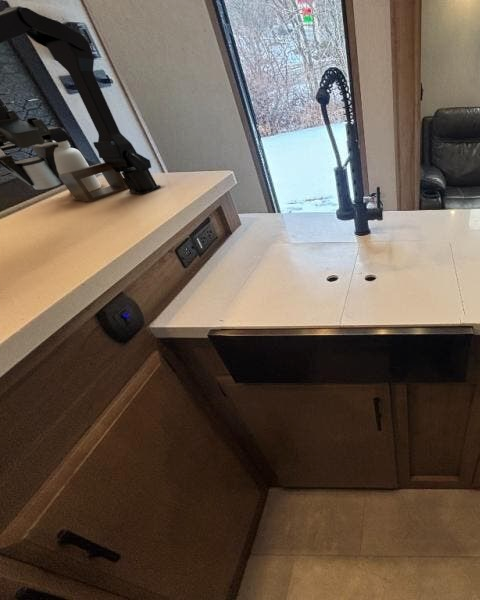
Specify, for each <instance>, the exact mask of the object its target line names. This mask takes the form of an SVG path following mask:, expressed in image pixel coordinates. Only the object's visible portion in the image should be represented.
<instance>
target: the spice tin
mask: <svg viewBox="0 0 480 600" xmlns="http://www.w3.org/2000/svg"><path fill="white" fill-rule="evenodd" d="M14 162H15V163H16V165H17V166H18V167H19V168H20V169H21V170H22V171H23V172H24V173H25V175H26V176H27V177H28V178H29V179H30V180H31V182H32V183H33V185H34V186H32V187H33V189H34V190H38V191H39V190H47V189H51V188H55V187H57V186H59V185H61V181H60V178H57V177H56V175H55V174H54V173H53V171H52V170H51V168H50V167H49V166H48V164H47V163H46V162H45V159H44V158H43V157H38V156H35V157H29V158H23V159H20V160H16V161H14Z"/></svg>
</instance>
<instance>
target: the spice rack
mask: <svg viewBox="0 0 480 600" xmlns="http://www.w3.org/2000/svg"><path fill="white" fill-rule="evenodd" d="M99 174H102V176H103V177H104V179H105V181H106V182H107V183H108V186H105V187H103V188H102V187H101V188H99V189H97V190H94V191H91V192H89V191H88V190H87V188H86V187H85V185H84V184H83V182H82V181H81V179H82V178H85V177H89V176H92V175H95V176H96V175H99ZM58 175H59V179H60V180H61V181H62V183H63V184H64V186H65V187H66V189H67V190H68V191H69V193H70V194H71V196H72V197H73V198H74V200H75V201H83V202H90V203H92V202H95V201H96V200H99V199H101V198H102V199H103V198H104V197H105V198H106V197H107V196H110V195H113V194H116V193H119V192H121V191H125V190H129V188H128V186H127V185H126V183H125V181H124V180H123V178H124V177H123V175H122V172H116V171H115V170H114V169H113V168H112V167H111V166H110V165H108V164H106V163H105V162H104V161H103V162H99V163H95V164H93V165H89V167H85V168H81V169H78V170H74V171H71V172H67V173H64V174H58Z"/></svg>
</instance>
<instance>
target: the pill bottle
mask: <svg viewBox="0 0 480 600" xmlns="http://www.w3.org/2000/svg"><path fill="white" fill-rule="evenodd" d="M52 141H53V140H52ZM53 143H54V144H58V146H59V147H56V148H55V151H54V159H55V164H56V167H57V171H58V175H60V174H64V173H67V172H71V171H74V170H78V169H81V168H85V167H89V166H90V165H89V164H88V162H87V160H86V159H85V157H84V156H83V154H82V152H81V151H80V150H78V149H77V148H74V147H71V144H70V142H69V140H68V141H63V142H59V143H58V142H55V141H53ZM81 181H82V182H83V184H84V185H85V187H86V188H87V190H88V191H89V193H90V192H93V191H96V190H99V189H101V188H102V185H101V183H100V180H98V178H97V176H96V174H95V175H92V176H89V177H85V178H82V179H81Z"/></svg>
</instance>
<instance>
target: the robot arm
mask: <svg viewBox="0 0 480 600" xmlns="http://www.w3.org/2000/svg"><path fill="white" fill-rule="evenodd" d="M24 34H25V35H26V36H27V37H29V38H30V39H31V40H32V41H33V42H35V43H37V44H39V45H41V46H43V47H45V48H47V49H48V50H49V52H50V53H51V55H52V56H53V58H54V60H56V62H57V63H59V64H60V66H62V67H63V68H64V69H65V70H66V72H68V74H69V76H70V78H71V80H72V82H73V84H74V86H75V88H76V90H77V92H78V95H79V97H80V99H81V101H82V103H83V105H84V108H85V110H86V111H87V113H88V115H89V118H90V119H91V122H92V124H93V126H94V128H95V130H96V132H97V135H98V138H97V139H98V140H97V141H93V146H94V149H96V151H97V153H98V158H99V159H102V161H103V163H104V162H105V163H106V164H108V165H110V166H111V167H112V168H113V169H114V170H115V171H116V172H120V173H121V174H122V176H123V180H124V181H125V183H126V185H127V186H128V192H129V193H132V194H141V195H143V194H147V193H148V192H151V191H155V190H156V189H159V188H161V185H160V184H157V182H156V180H155V179H154V177H153V175H152V173H151V172H150V169H152V163H151V160H150V159H149V158H147V157H145V156H144V155H142V154H139V153H138V152H137V150H136V149H135V147H134V146H133V144H132V142H130V140H129V139H128V138H126V137H125V136H124V135H123V134H122V133H121V131H120V128H119V127H118V125H117V122H116V119H115V118H114V116H113V113H112V111H111V109H110V106H109V105H108V104H109V103H108V102H107V100H106V98H105V96H104V93H103V91H102V89H101V87H100V85H99V82H98V80H97V78H96V76H95V74H94V65H95V58H94V54H93V52H92V51H93V50H92V48H91V45H90V42H89V40H88V39H87V37H86V36H85V35H84V34H82V33H81V32H80V31H79V30H78V29H77V28H75V27H73V26H68V25H66V24H65V23H63V22H60V21H58V20H55V19H53V18H51V17H47V16H45V15H42V14H40V13H38V12H36V11H34V10H33V9H30V8H29V7H26V6H23V5H21V6H20V5H19V6H18V5H17V6H11V7H5V8H4V10H2V11H0V44H1V43H4V42H6V41H9V40H11V39H15V38H16V37H18V36H22V35H24ZM52 140H53V141H55V142H58V143H59V142H63V141H68V142H69V141H71V140H72V137H71V136H70V134H69V133H68V131H67V130H66V129H64V128H63V127H59V126H47V124H46V123H45V122H44V121H43V119H42V118H41V117H38V116H34V117H28V118H26V120H22V118H20V117H19V115H18V114H17V113H16V112H15V111H14V110H11V109H10V108H9V107H8V106H7V104H6V102H5V101H4V100H3V98H2V96H0V167H1V168H3V169H5V170H6V171H7V172H9V173H11V174H12V175H13V176H15V177H17V178H18V179H19V180H21V181H23V182H24V183H25V184H27V185H28V186H30V187H33V186H34V185H33V183H32V182H31V180H30V179H29V178H28V177H27V176H26V175H25V173H24V172H23V171H22V170H21V169H20V168H19V167H18V166H17V165H16V163H15V162H16V161H15V160H14V158H13V156H12V155H9V154H8V155H7V154H6V153H5V152H4V151H8V150H14V149H17V148H20V149H28V148H30V147H31V148H32V150H33V151H34V152H35V154H36V156H37V157H43V158H44V159H45V162H46V163H47V164H48V166H49V167H50V168H51V170H52V171H53V173H54V174H55V175H56V177H57V178H58V179H60V177H59V175H60V174H59V173H58V171H57V167H56V164H55V159H54V151H55V148H56V147H59V146H58V144H54V143H53V141H52Z"/></svg>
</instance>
